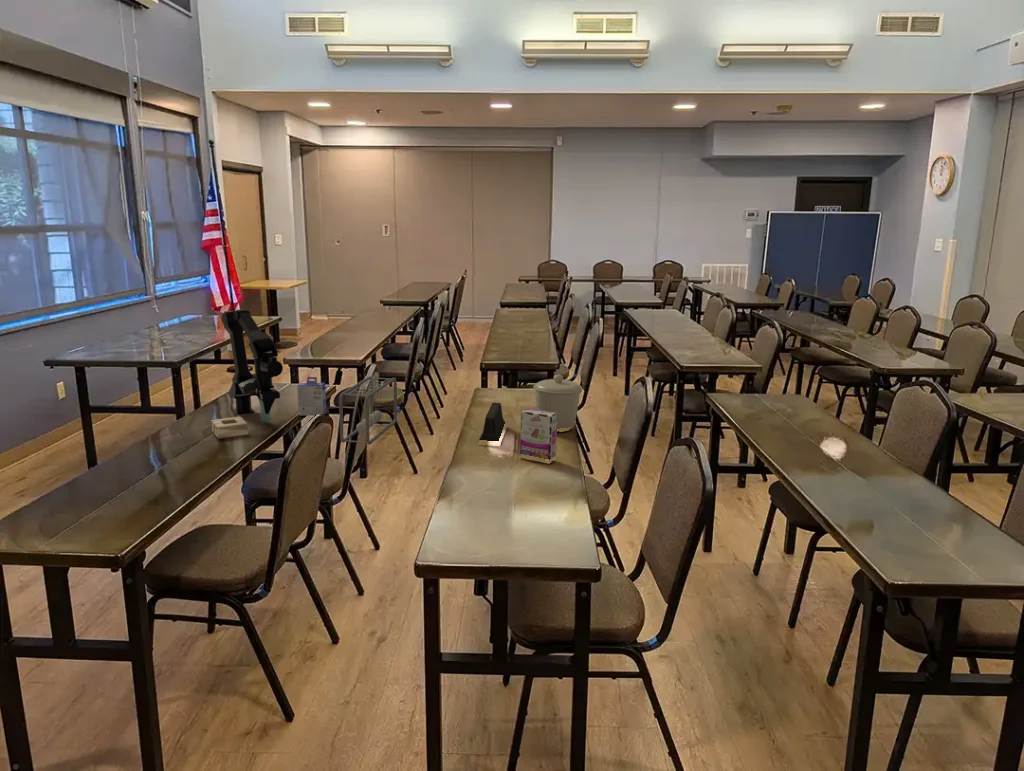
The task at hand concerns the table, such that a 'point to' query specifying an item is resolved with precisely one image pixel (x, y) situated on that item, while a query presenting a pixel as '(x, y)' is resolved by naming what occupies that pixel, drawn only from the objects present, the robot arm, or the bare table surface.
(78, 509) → the table surface
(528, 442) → the candy bar box
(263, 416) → the pin
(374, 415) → the cube frame
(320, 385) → the ink cartridge box
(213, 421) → the jig block
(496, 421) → the barrier
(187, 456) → the table surface
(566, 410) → the canister
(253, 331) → the robot arm
